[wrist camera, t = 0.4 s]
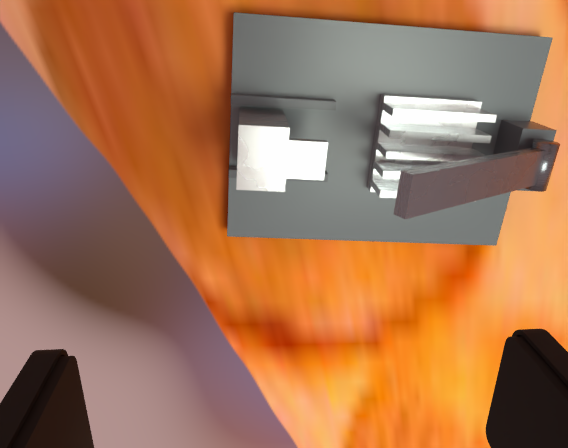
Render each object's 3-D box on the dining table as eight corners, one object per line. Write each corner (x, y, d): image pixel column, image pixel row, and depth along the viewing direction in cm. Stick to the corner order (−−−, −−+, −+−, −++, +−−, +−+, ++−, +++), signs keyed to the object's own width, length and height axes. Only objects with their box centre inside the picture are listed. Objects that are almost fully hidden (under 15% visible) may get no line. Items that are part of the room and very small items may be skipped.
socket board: (542, 37, 35) (583, 39, 31) (489, 237, 41) (517, 262, 37) (234, 12, 33) (232, 12, 28) (227, 228, 39) (225, 253, 35)
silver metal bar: (540, 138, 33) (564, 143, 32) (528, 182, 34) (550, 189, 33) (396, 160, 25) (421, 169, 24) (386, 218, 26) (409, 229, 25)
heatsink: (475, 99, 35) (498, 108, 32) (455, 191, 37) (474, 207, 34) (380, 93, 34) (394, 101, 31) (367, 187, 37) (378, 203, 34)
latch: (316, 111, 34) (329, 129, 29) (311, 166, 36) (322, 193, 30) (239, 107, 33) (238, 124, 28) (237, 162, 35) (236, 189, 30)
